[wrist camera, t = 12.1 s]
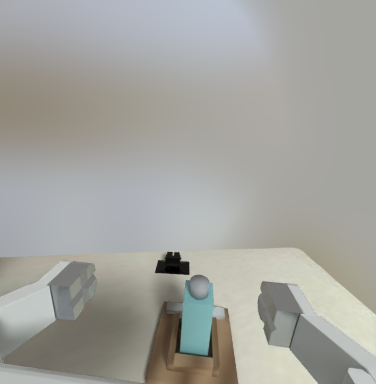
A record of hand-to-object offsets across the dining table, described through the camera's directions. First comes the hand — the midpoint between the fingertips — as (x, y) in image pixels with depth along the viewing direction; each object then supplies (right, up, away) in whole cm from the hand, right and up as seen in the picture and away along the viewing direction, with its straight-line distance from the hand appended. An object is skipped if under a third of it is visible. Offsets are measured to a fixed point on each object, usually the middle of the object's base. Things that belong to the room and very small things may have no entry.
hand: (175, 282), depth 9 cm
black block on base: (-4, -18, +46) cm, 49 cm away
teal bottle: (+2, -23, +24) cm, 33 cm away
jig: (+2, -24, +26) cm, 35 cm away
